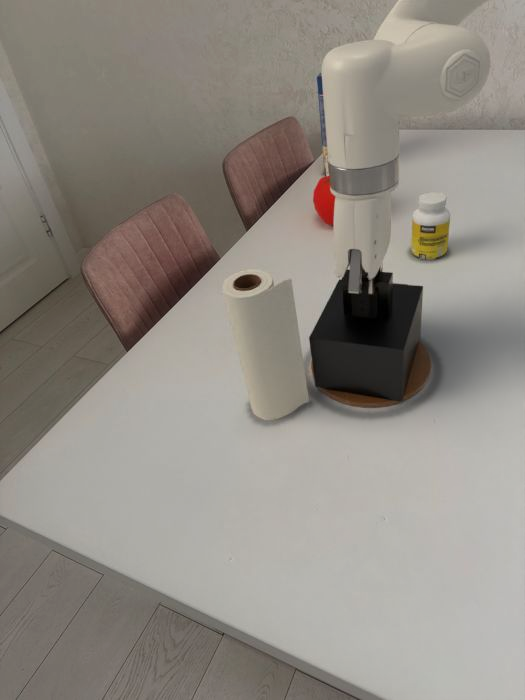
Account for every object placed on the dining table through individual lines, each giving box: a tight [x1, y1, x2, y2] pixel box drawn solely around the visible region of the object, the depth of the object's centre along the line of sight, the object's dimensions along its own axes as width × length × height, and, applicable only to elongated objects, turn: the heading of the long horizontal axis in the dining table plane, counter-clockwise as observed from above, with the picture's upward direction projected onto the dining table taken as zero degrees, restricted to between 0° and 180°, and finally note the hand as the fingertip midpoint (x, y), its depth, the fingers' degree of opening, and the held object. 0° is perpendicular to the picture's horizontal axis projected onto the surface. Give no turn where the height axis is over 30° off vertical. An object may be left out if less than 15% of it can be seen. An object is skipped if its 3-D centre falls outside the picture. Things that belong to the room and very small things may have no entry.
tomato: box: [312, 176, 336, 226], centre depth 108 cm, size 13×12×11 cm
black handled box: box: [308, 268, 432, 409], centre depth 68 cm, size 17×17×15 cm
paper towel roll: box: [221, 268, 310, 421], centre depth 63 cm, size 7×6×21 cm
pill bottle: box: [410, 191, 451, 262], centre depth 91 cm, size 6×6×12 cm
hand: (367, 308), depth 66 cm, fingers closed on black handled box, 2 cm apart
